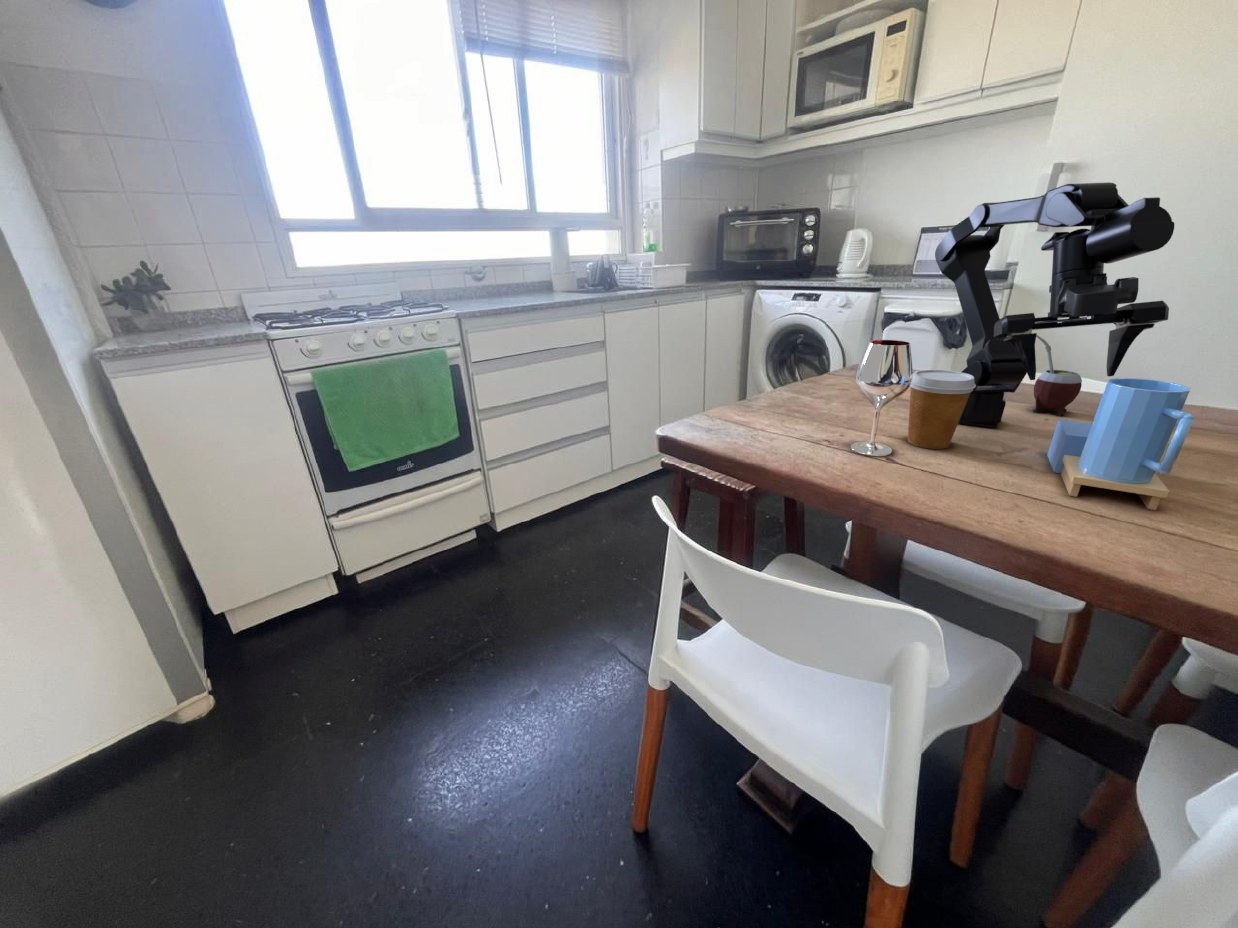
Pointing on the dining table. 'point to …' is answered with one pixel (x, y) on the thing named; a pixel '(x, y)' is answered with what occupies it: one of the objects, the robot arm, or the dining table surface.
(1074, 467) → the blue and wooden stand
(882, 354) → the wineglass
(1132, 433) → the blue mug
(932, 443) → the disposable coffee cup
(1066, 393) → the mate gourd
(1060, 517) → the dining table surface
